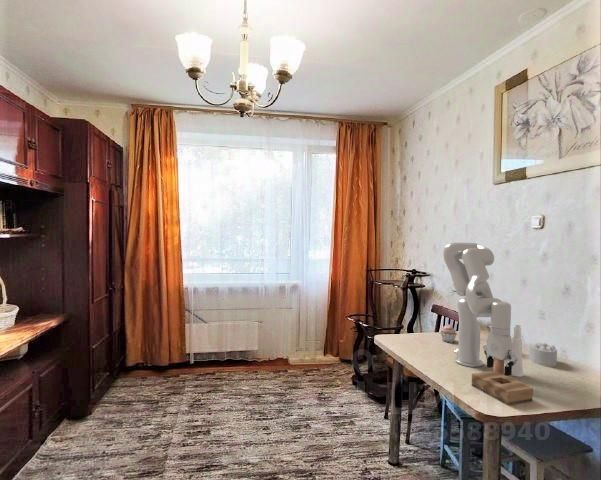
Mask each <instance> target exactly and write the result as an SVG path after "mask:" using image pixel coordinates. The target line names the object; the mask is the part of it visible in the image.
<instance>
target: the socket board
mask: <svg viewBox="0 0 601 480" xmlns="http://www.w3.org/2000/svg"><path fill="white" fill-rule="evenodd" d="M470 385H471V387H474V388H475V389H477V390H479V391H480V390H481V391H480V392H482V391H483V393H484V394H486V395H488V396H490V397H492V398H494V399H495V400H497V401H499V402H500V403H503V404H505V405H506V406H511V405H516V404H523V403H530V402H533V399H534V397H533V396H534V387H532V386H530V385H527V384H525V383H523V382H520V381H518V380H516V379H514V378H513V377H509V376H505V375H503V374H501V373H499V372H496V371H493V370H492V371H491V370H490V371H484V372H483V371H482V372H481V371H480V372H475V373H471V384H470Z"/></svg>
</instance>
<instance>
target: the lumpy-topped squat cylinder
mask: <svg viewBox="0 0 601 480" xmlns="http://www.w3.org/2000/svg"><path fill="white" fill-rule="evenodd" d="M528 356H529V357H528V359H529V361H531V362H532V363H534V364H537V365H539V366H543V367H549V368H553V367H554V366H555V367H556V366H557V363H558V361H557V359H558V349H556V346H555V345H553V344H550V345H549V344H547V343H545V342H534V343H530V344H529V355H528Z"/></svg>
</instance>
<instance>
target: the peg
mask: <svg viewBox="0 0 601 480" xmlns="http://www.w3.org/2000/svg"><path fill="white" fill-rule="evenodd" d="M493 358H494V357H493ZM504 369H505V362H504V360H499V359H497V358H494V366H493V370H492V371H496V372H499V373H501V374H503V375H504Z"/></svg>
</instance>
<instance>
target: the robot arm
mask: <svg viewBox="0 0 601 480" xmlns="http://www.w3.org/2000/svg"><path fill="white" fill-rule="evenodd" d="M442 256H443V261H444V263H445V265H446V267H447V268H448V271H449V274H450V277H451V280H452V282H453V283H452V284H453V287H454V290H455V292H456V294H457V295H458V296H460V297H463V298H461V299H459V300H458V302H457V306H456V307H457V313H458V347H457V348H456V350H454V351H453V353H454V354H456V356H455V357H454V362H455V363H457V365H458V364H459V365H461V366H465V367H471V368H472V367H473V368H474V367H476V368H478V367H482V366H483V365H484V361H483V360H481V359H480V354H481V353H480V352H481V325H480V323H479V321H478V320H477V318H490V325H489V329H490V330H489V332H488V334H487V338H486V344H485V345H483V346H482V349H483V350H484V353H483V354H484V355H485V358H486V368H488V369H489V368H494V358H497V359H499V360H504V375H505V376H507V377H509V376H512V375H511V374H512V366H513V365H514V364H515V363H516V361H517V360H518V359H517V357H516V356H515V355H514V354H513V353H512V340H513V339H512V336H511V325H512V324H511V323H512V322H511V321H512V320H511V319H512V318H511V317H512V306H511V303H509V302H506V301H503V300H501V299H499V298H497V297H496V298H494V296H493V292H492V290H491V287H490V284H489V281H488V280H489V278H490V274H489V272H488V269H487V266H492V265H493V264H494V261H495V255H494V252H493V251H492V250H491V249H490V248H488V247H486V246H484V245H481V244H479V243H476V242H451V243H447V245H445V246H444V248H443V255H442ZM461 260H462V261H461ZM511 359H512V361H511Z"/></svg>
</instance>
